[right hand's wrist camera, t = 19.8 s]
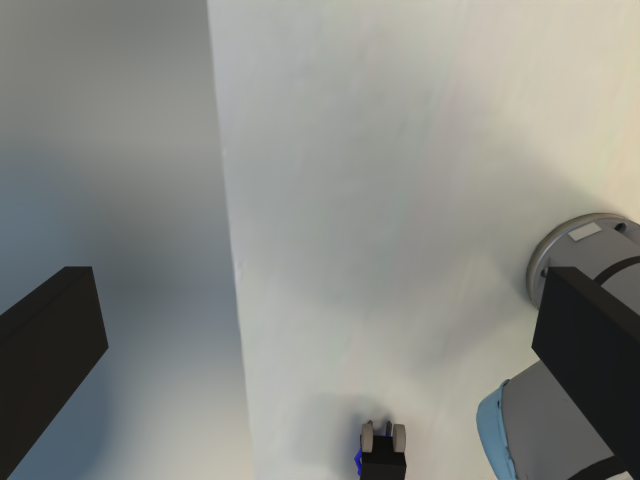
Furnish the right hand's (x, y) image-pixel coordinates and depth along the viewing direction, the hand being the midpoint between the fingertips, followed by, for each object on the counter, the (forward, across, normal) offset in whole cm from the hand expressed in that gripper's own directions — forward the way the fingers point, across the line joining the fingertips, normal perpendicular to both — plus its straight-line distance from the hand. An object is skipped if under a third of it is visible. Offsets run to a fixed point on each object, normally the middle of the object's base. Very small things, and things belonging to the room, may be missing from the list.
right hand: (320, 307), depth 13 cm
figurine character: (+38, -8, +46) cm, 61 cm away
